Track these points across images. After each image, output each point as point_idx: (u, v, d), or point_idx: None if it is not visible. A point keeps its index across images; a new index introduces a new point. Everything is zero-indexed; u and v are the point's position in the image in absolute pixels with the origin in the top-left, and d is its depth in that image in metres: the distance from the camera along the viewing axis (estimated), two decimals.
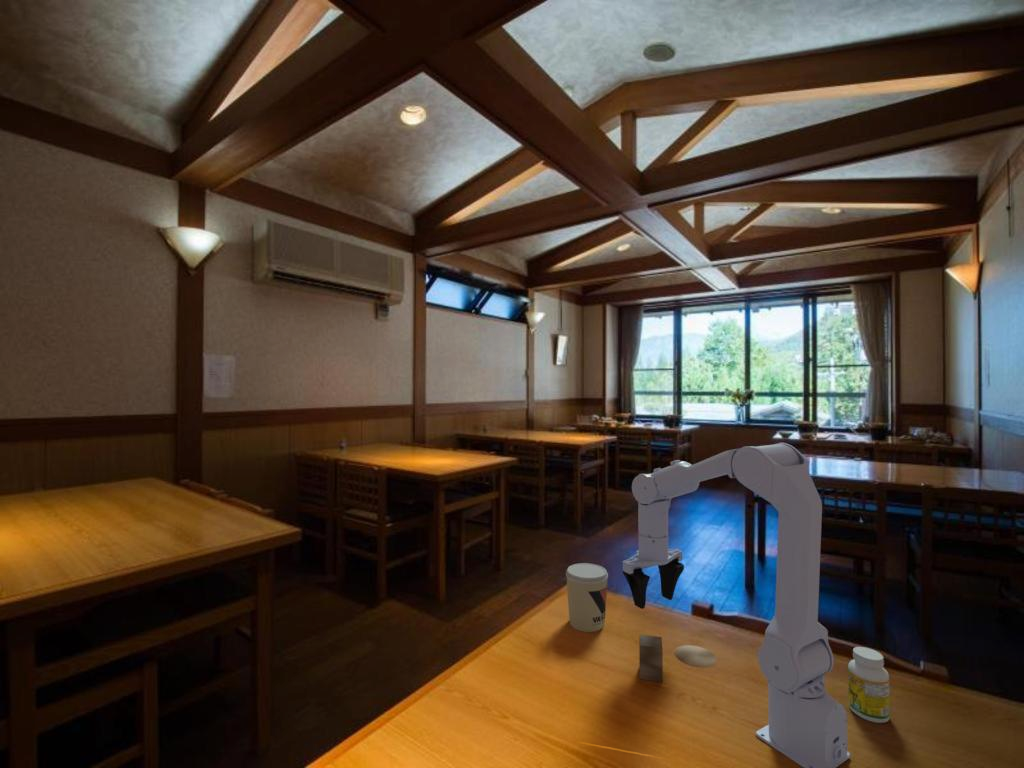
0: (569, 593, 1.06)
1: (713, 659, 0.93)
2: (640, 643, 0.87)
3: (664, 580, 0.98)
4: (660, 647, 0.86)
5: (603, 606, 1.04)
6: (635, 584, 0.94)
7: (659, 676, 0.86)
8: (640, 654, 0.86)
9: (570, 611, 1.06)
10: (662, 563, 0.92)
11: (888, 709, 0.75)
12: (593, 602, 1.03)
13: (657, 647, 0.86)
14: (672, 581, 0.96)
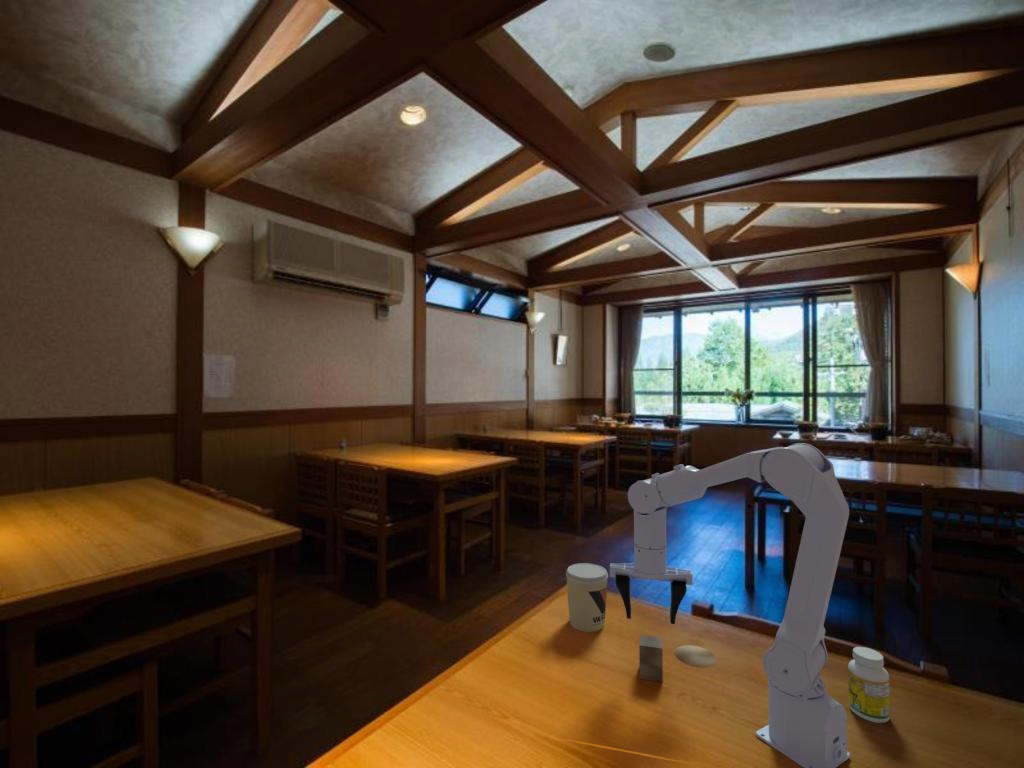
0: (569, 593, 1.06)
1: (713, 659, 0.93)
2: (640, 643, 0.87)
3: (671, 601, 0.88)
4: (660, 647, 0.86)
5: (603, 606, 1.04)
6: None
7: (659, 676, 0.86)
8: (640, 654, 0.86)
9: (570, 611, 1.06)
10: (646, 576, 0.85)
11: (888, 709, 0.75)
12: (593, 602, 1.03)
13: (657, 647, 0.86)
14: (672, 603, 0.86)
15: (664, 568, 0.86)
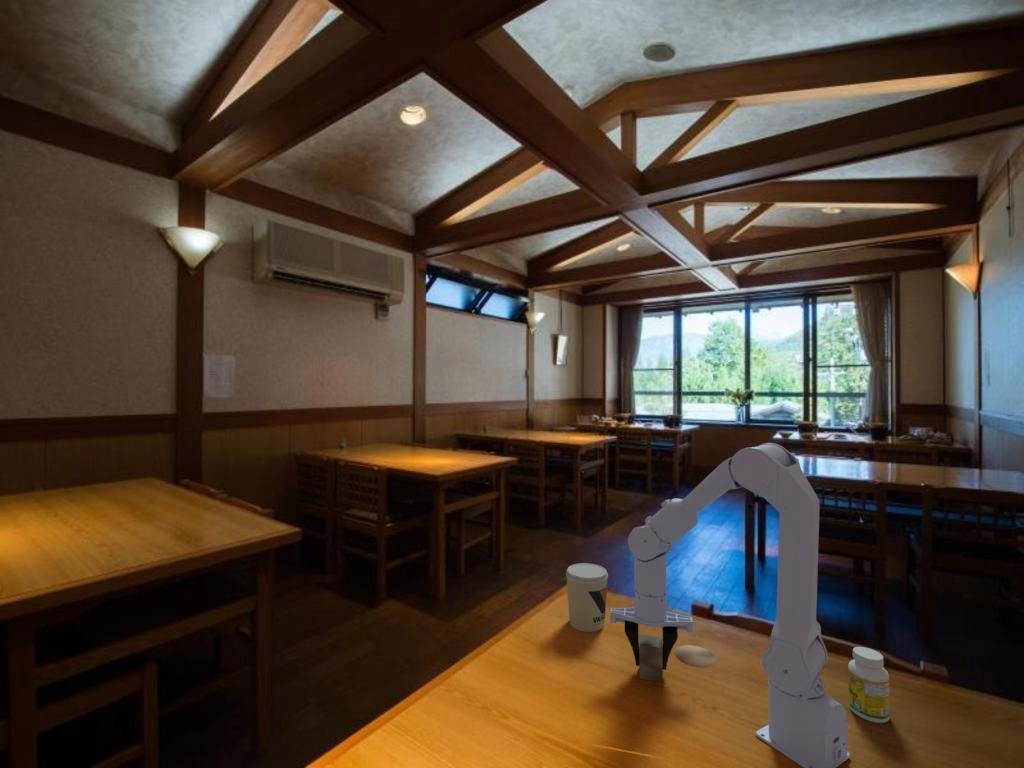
0: (569, 593, 1.06)
1: (713, 659, 0.93)
2: (640, 643, 0.87)
3: None
4: (660, 647, 0.86)
5: (603, 606, 1.04)
6: None
7: (659, 676, 0.86)
8: (640, 654, 0.86)
9: (570, 611, 1.06)
10: (646, 624, 0.85)
11: (888, 709, 0.75)
12: (593, 602, 1.03)
13: (657, 647, 0.86)
14: (663, 649, 0.86)
15: (664, 615, 0.86)
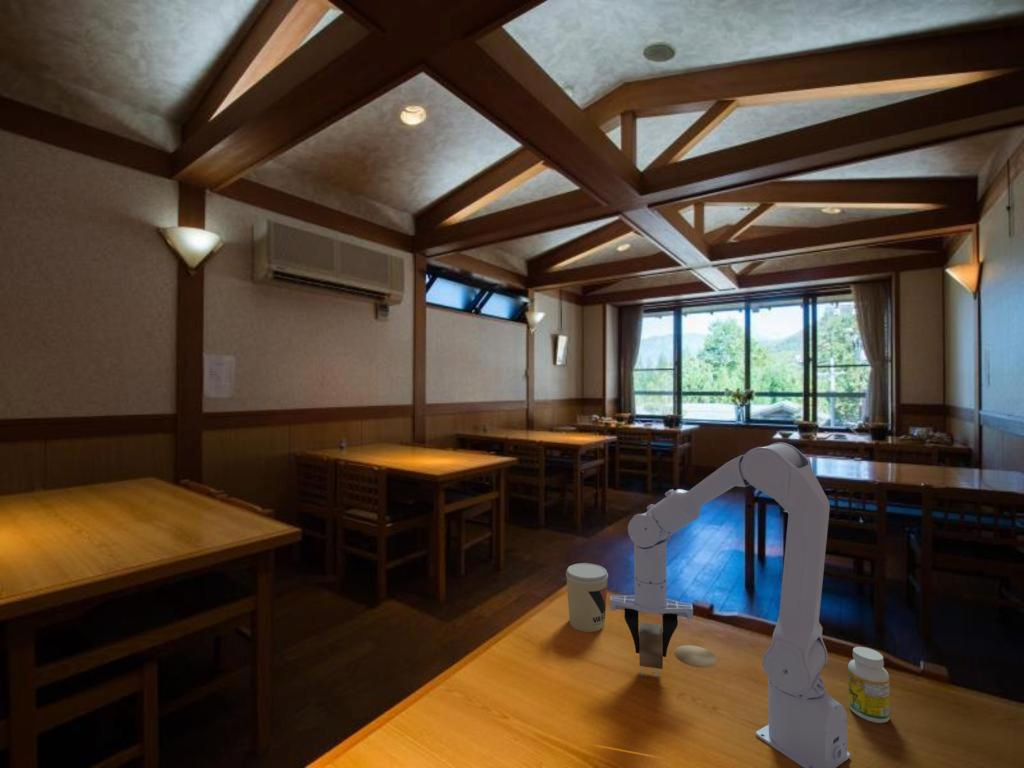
0: (569, 593, 1.06)
1: (713, 659, 0.93)
2: (640, 630, 0.87)
3: None
4: (660, 634, 0.86)
5: (603, 606, 1.04)
6: None
7: (659, 663, 0.86)
8: (640, 641, 0.86)
9: (570, 611, 1.06)
10: (646, 611, 0.85)
11: (888, 709, 0.75)
12: (593, 602, 1.03)
13: (657, 634, 0.86)
14: (663, 636, 0.86)
15: (664, 602, 0.86)
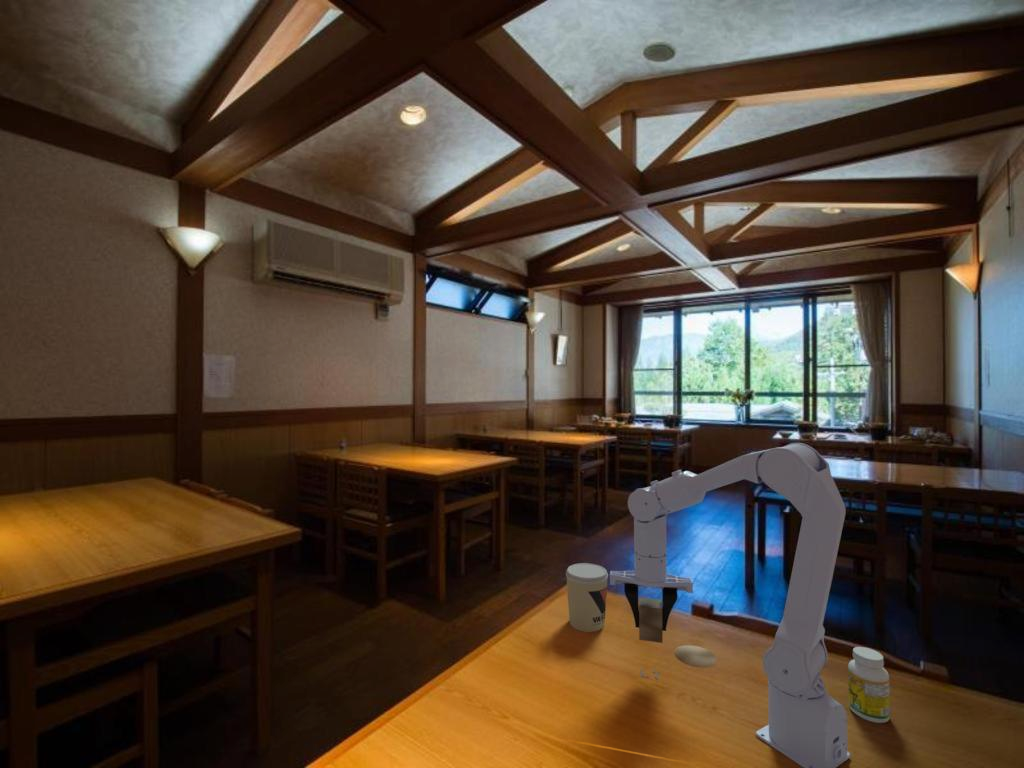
0: (569, 593, 1.06)
1: (713, 659, 0.93)
2: (640, 605, 0.87)
3: (662, 608, 0.88)
4: (660, 608, 0.86)
5: (603, 606, 1.04)
6: None
7: (659, 637, 0.86)
8: (640, 615, 0.87)
9: (570, 611, 1.06)
10: (646, 584, 0.85)
11: (888, 709, 0.75)
12: (593, 602, 1.03)
13: (657, 608, 0.86)
14: (663, 610, 0.86)
15: (664, 576, 0.86)
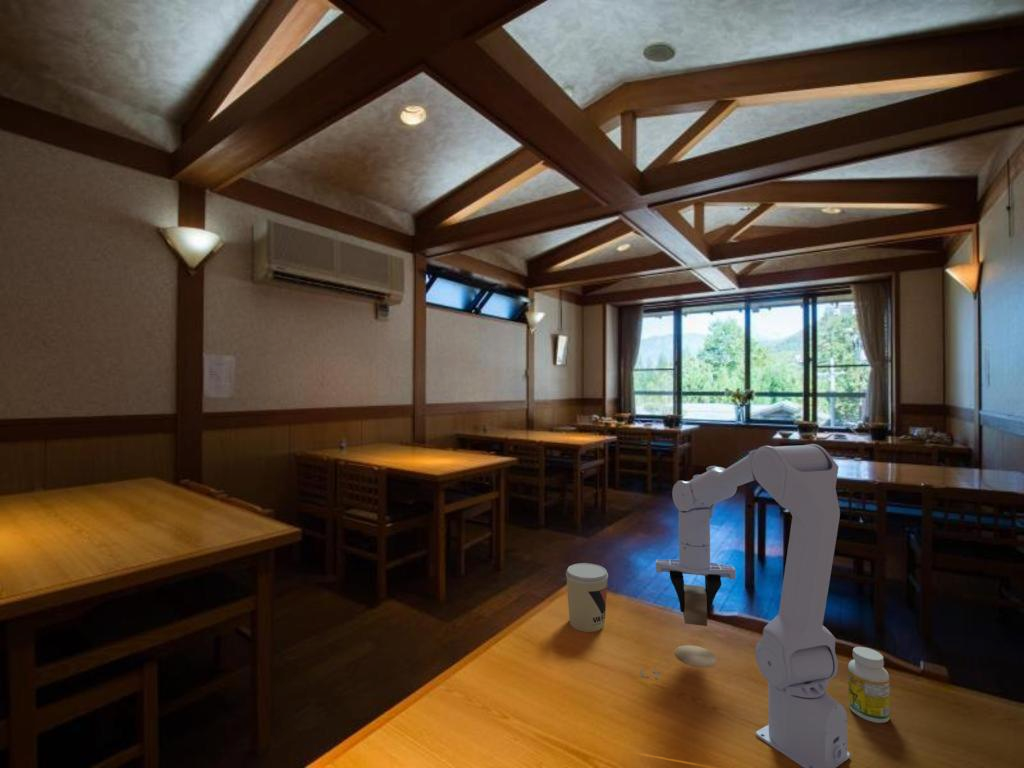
0: (569, 593, 1.06)
1: (713, 659, 0.93)
2: (685, 591, 0.93)
3: None
4: (704, 594, 0.92)
5: (603, 606, 1.04)
6: None
7: (703, 620, 0.92)
8: (685, 600, 0.93)
9: (570, 611, 1.06)
10: (692, 572, 0.91)
11: (888, 709, 0.75)
12: (593, 602, 1.03)
13: (702, 594, 0.92)
14: (707, 596, 0.92)
15: (708, 564, 0.92)
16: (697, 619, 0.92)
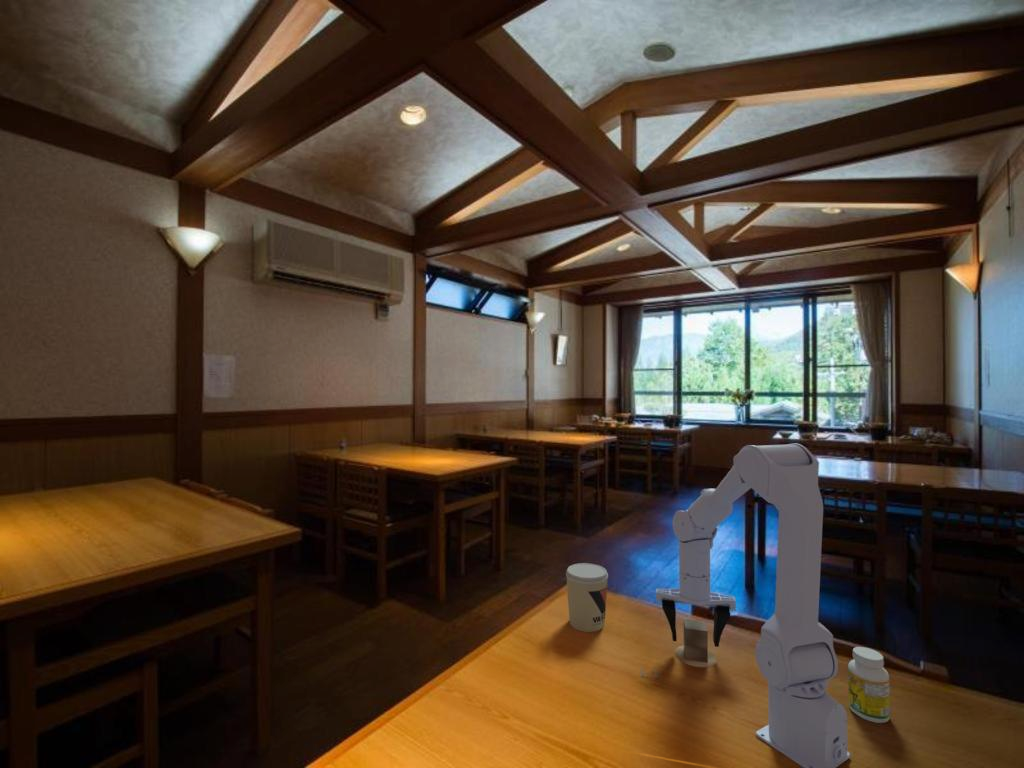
0: (569, 593, 1.06)
1: (713, 659, 0.93)
2: (686, 627, 0.93)
3: (714, 625, 0.94)
4: (705, 630, 0.92)
5: (603, 606, 1.04)
6: None
7: (704, 657, 0.92)
8: (686, 637, 0.92)
9: (570, 611, 1.06)
10: (692, 602, 0.91)
11: (888, 709, 0.75)
12: (593, 602, 1.03)
13: (703, 630, 0.92)
14: (716, 627, 0.92)
15: (709, 594, 0.92)
16: (698, 655, 0.92)
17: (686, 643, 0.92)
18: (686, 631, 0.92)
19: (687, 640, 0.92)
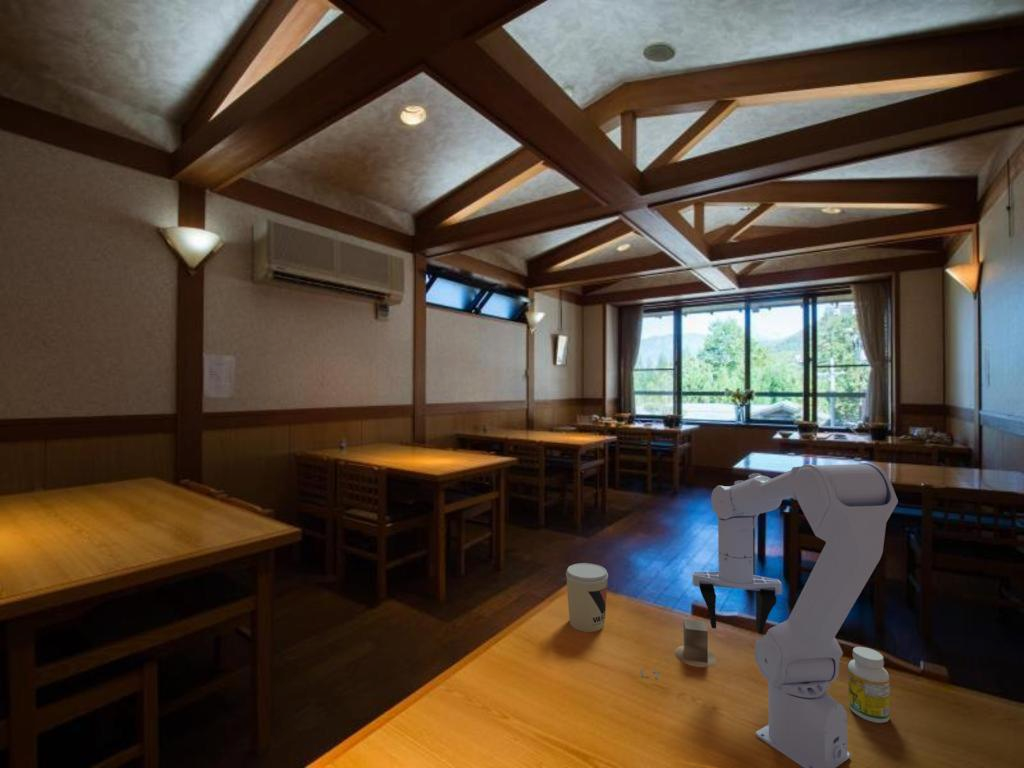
0: (569, 593, 1.06)
1: (713, 659, 0.93)
2: (686, 627, 0.93)
3: (757, 610, 0.86)
4: (705, 630, 0.92)
5: (603, 606, 1.04)
6: None
7: (704, 657, 0.92)
8: (686, 637, 0.92)
9: (570, 611, 1.06)
10: (734, 586, 0.84)
11: (888, 709, 0.75)
12: (593, 602, 1.03)
13: (703, 630, 0.92)
14: (760, 613, 0.84)
15: (752, 577, 0.84)
16: (698, 655, 0.92)
17: (686, 643, 0.92)
18: (686, 631, 0.92)
19: (687, 640, 0.92)
